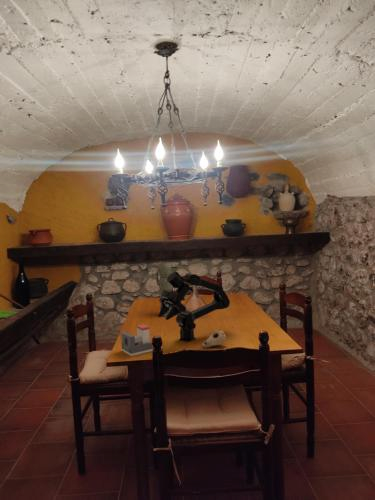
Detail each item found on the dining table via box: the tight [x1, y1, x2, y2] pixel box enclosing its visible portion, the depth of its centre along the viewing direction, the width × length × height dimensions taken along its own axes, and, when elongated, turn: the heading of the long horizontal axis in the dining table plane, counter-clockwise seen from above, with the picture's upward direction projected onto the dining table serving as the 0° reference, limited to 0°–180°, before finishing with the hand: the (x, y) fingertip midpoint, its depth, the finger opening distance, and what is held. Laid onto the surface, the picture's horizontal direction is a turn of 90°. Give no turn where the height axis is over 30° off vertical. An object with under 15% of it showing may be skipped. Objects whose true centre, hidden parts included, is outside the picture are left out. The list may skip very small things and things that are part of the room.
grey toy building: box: [121, 331, 153, 354], centre depth 201 cm, size 14×10×8 cm
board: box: [121, 348, 153, 357], centre depth 202 cm, size 14×10×1 cm
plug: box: [134, 324, 151, 345], centre depth 201 cm, size 9×6×10 cm, turn 124°
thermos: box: [156, 261, 176, 318], centre depth 271 cm, size 9×12×35 cm
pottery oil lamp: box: [201, 330, 227, 348], centre depth 204 cm, size 9×12×7 cm
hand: (162, 318), depth 208 cm, fingers open, 7 cm apart
